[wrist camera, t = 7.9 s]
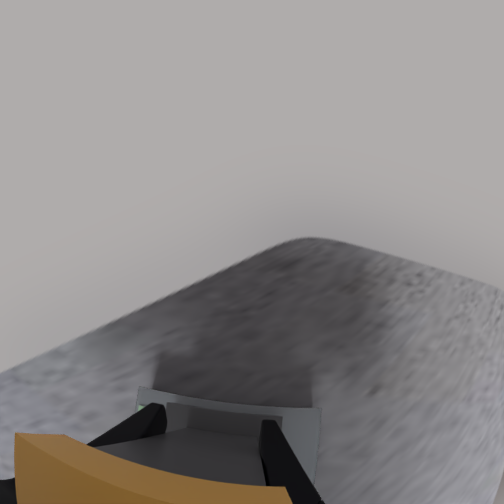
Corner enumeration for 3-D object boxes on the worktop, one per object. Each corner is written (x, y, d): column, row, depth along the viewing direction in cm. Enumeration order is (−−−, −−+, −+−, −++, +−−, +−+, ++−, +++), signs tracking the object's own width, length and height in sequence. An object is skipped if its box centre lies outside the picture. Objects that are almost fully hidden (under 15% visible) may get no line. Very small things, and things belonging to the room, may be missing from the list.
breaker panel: (291, 562, 8) (296, 578, 6) (138, 540, 8) (126, 552, 6) (313, 407, 13) (322, 407, 12) (151, 389, 14) (138, 385, 12)
